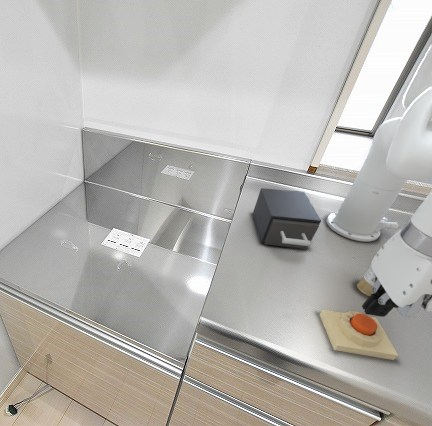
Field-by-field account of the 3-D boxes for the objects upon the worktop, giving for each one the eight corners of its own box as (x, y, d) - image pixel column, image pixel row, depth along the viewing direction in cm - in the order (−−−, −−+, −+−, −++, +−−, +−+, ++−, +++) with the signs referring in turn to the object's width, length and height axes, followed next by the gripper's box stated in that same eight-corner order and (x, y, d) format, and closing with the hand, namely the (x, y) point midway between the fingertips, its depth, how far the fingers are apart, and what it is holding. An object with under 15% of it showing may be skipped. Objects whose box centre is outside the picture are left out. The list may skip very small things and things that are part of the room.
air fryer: (307, 248, 78) (321, 220, 73) (260, 243, 80) (271, 215, 75) (292, 218, 89) (304, 191, 83) (252, 214, 91) (260, 188, 85)
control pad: (372, 322, 61) (381, 312, 59) (393, 360, 54) (404, 350, 52) (319, 314, 62) (326, 304, 60) (333, 350, 56) (342, 340, 54)
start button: (367, 320, 58) (371, 315, 57) (376, 337, 55) (381, 331, 54) (347, 317, 58) (351, 312, 57) (355, 333, 55) (359, 328, 54)
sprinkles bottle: (383, 292, 67) (419, 249, 59) (374, 301, 65) (410, 258, 57) (361, 279, 70) (392, 236, 62) (352, 288, 68) (382, 245, 60)
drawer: (312, 260, 74) (325, 237, 69) (268, 255, 75) (277, 232, 71) (293, 220, 87) (303, 198, 82) (256, 216, 89) (263, 195, 84)
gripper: (510, 282, 37) (420, 354, 48) (433, 211, 48) (375, 283, 59) (439, 274, 38) (368, 346, 49) (381, 206, 50) (334, 278, 61)
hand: (372, 311), depth 54 cm, fingers closed
